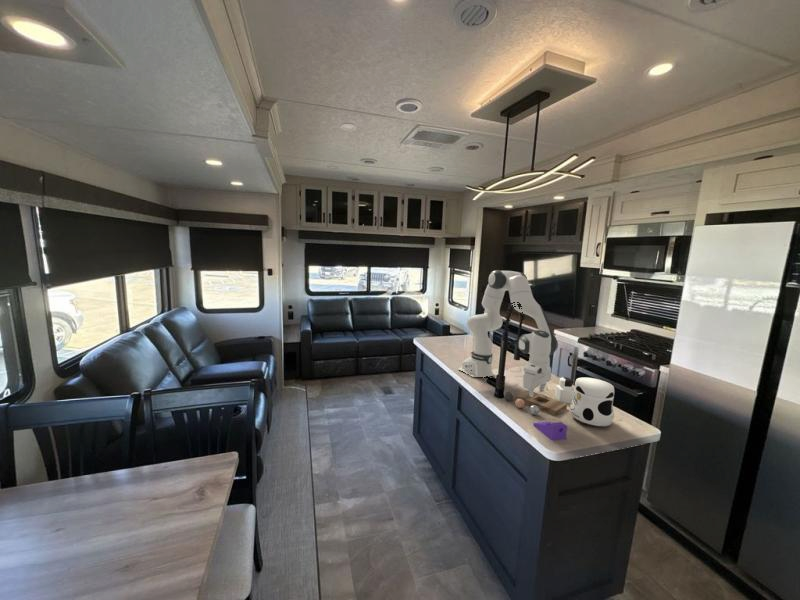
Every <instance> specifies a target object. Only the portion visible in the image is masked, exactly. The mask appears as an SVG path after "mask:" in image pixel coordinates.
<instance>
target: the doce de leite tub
mask: <svg viewBox="0 0 800 600" xmlns="http://www.w3.org/2000/svg"><path fill="white" fill-rule="evenodd" d="M574 382H575V383H574V388H573V389H574V397H573V400H572V402H571V403H570V405H569V406H570V407H569V408H570V413H571V414H570V415H571V416H572V417H573V418H574V419H575V420H577V421H578V422H580V423H582V424H584V425H587V426H590V427H594V428H595V427H596V428H605V427H609V426H610V425H611V424H612V423H613V421H614V417H615V412H614V407H613V406H614V405H613V404H614V398H615V387H614V385H612V384H611V383H610V382H607V381H605V380H601V379H599V378H594V377H593V378H592V377H578V378H576V379H575V381H574Z"/></svg>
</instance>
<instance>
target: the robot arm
mask: <svg viewBox="0 0 800 600" xmlns="http://www.w3.org/2000/svg"><path fill="white" fill-rule="evenodd" d="M487 283H488V284H487V285H486V288H485V290H484V295H483V297H482V301H481V306H482V307H483V309H484V313H481V314H480V313H479V314H475V315H472V316H470V317H468V319H467V320H466V327H467V329H468V330H469V331H470V332H471V334H472V336H473V339H474V340H473V342H474V344H473V345H474V347H473V351H470V353H469V354H470V356H469V357H468V358H466V359H464V360H463V362H462V364H461V366H459V367H458V369H459V370H461V371H463V372H465V373H466V374H465V373H464V374H465V375H467V374H469V375H471V376H472V377H471V376H470V377H471V378H473V377H483V378H482V379H485V378H484V377H486V376H492V375H493V376H494V372H493V365H492V363H493V345H494V344H493V340H492V339H491V338H490V337H489V334H488V332H491V331H496V330H499V329H501V328H502V326H503V322H504V321H503V318H502V316H501V314H500V310H501V306H502V303H503V299H504V296H505V293H506V291H507V292H508V294H509V295H508V296H509V299H510V304H511V303H513V302H515V303H513V304H511V306H512V305H513V307H514V306H516V307H514V308H513V307H512V308H513V309H514V310H516V311H517V312H518V313H521V314H524V315H526V316H529V317H530V318H532V319H533V320H534V321H535V323H536V326H537V328H538V329H537V330H534V331H532V332H531V333H524V334H522V335H521V336H519V338H518V341H517V346H518V349H519V351H521V353H523V354H526V355H528V354H529V358H528V359H529V360H528V361H527V363H526V364H525V365H524V366H523V371H524V372H523V373H524V374H523V376H522V377H523V379H522V384H523V385H522V386H523V388H524V389H525V390H527V391H529V396H530V397H534V396H535V393H536V392H535V389H536V388H538V387H539V388H538V390H539V392H541V393H544V392H545V387H546V385H547V383H549V382H550V381H551V380H552V367H551V365H550V363H551V359H550V355H553V354H555V352H556V351H557V350H558V349H559V342H558V339H557V338H556V336H555V334H554V333H553V332H554V331H552V328H551V326H550V323H549V320H548V318H547V315H546V313H545V310H544V309H543V307H542V306H541V304H539V303H538V302H537V301H536V299H535V298H534V295H533V293H532V292H533V291H532V289H531V286H530V283H529V281H528V277H527V275H526V274H524V273H523V272H520V271H513V270H499V269H496V270H493V271H491V272H490V273H489V275H488V278H487ZM517 302H519V303H520V304H521V306H522V307H520V309H519V307H518V305H517V304H519V303H517ZM514 304H515V305H514ZM521 308H522V309H521ZM522 312H523V313H522ZM460 367H461V368H460ZM458 369H457V370H458ZM459 370H458V371H459ZM461 371H460V372H461ZM463 372H462V373H463ZM469 375H468V376H469ZM534 392H535V393H534Z"/></svg>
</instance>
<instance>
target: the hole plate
mask: <svg viewBox="0 0 800 600" xmlns="http://www.w3.org/2000/svg"><path fill="white" fill-rule="evenodd" d="M534 393H535V396H534V397H530V396H529V390H526V391H524V392H523V393H520V394H518V395H517V396H516V397H517V398H516V400H517V399H523V400H524V402H525V405H527V406H529V407H530V406H532V405H536V406H537V407H538V408H539V411H542V412H544V413H547V414H550V415H551V416H557V415H559V414H561V413H562V412H563V411H565V410H567V407H568V403H563V402H560V401H558V400H557V399H556V398H551V397H548V396H546V395H542V394H540V393H537V392H535V391H534Z"/></svg>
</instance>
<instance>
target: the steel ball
mask: <svg viewBox="0 0 800 600" xmlns="http://www.w3.org/2000/svg"><path fill="white" fill-rule="evenodd" d="M529 412H530V414H531V415H534V416H536V415H539V413H540V410H539V408H538V407H537V406H536V405H532V406H529Z"/></svg>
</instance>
